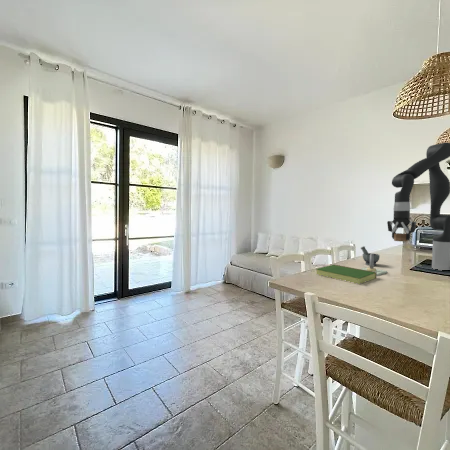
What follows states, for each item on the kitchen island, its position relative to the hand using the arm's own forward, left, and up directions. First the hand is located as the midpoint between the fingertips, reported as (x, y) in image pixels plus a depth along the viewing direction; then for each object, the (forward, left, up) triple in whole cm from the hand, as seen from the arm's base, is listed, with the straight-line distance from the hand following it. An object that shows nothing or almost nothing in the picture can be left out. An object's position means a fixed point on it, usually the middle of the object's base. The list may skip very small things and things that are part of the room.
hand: (400, 239), depth 143 cm
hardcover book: (+31, -15, -20) cm, 40 cm away
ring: (0, 0, -1) cm, 1 cm away
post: (+10, -10, -20) cm, 25 cm away
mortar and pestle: (-10, -22, -20) cm, 31 cm away
